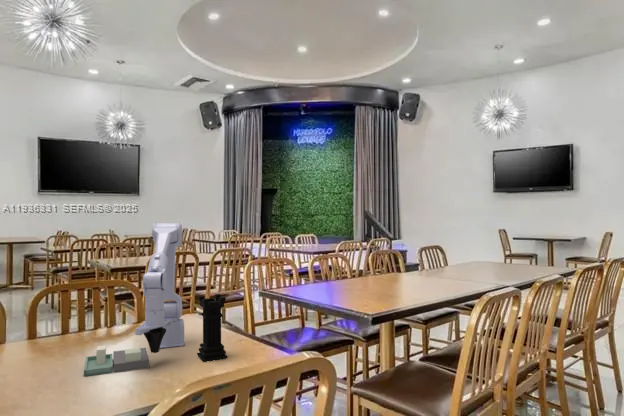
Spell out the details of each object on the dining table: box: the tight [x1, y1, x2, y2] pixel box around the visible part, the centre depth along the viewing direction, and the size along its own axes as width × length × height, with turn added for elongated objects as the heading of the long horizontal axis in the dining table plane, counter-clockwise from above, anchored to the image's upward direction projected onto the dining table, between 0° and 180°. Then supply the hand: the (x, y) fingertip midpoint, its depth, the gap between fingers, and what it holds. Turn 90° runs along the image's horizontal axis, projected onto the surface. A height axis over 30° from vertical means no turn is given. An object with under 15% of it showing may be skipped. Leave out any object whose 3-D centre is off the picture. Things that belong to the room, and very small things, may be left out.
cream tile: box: [95, 345, 107, 365], centre depth 145 cm, size 4×4×2 cm
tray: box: [83, 353, 114, 377], centre depth 142 cm, size 8×14×2 cm, turn 24°
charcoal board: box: [112, 347, 150, 374], centre depth 145 cm, size 10×14×2 cm
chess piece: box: [196, 293, 228, 363], centre depth 152 cm, size 8×8×20 cm
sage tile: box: [124, 347, 141, 362], centre depth 142 cm, size 4×4×2 cm
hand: (154, 352), depth 145 cm, fingers closed
